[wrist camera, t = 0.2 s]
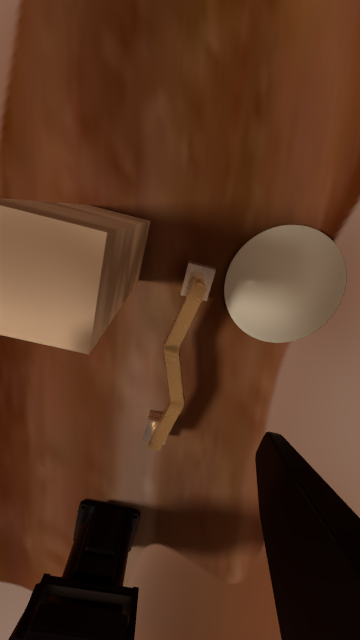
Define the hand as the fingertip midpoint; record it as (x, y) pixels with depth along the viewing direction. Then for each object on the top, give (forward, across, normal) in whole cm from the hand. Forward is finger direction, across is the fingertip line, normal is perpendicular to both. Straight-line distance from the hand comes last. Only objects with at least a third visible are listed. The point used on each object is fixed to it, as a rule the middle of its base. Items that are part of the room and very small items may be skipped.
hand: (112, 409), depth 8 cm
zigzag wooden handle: (+14, -2, +6) cm, 16 cm away
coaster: (+15, -9, -2) cm, 17 cm away
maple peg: (+14, +4, -2) cm, 15 cm away
